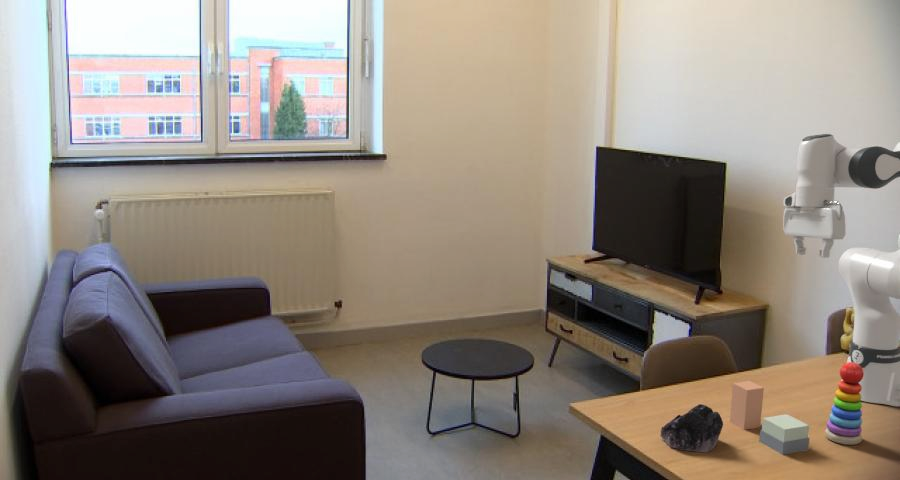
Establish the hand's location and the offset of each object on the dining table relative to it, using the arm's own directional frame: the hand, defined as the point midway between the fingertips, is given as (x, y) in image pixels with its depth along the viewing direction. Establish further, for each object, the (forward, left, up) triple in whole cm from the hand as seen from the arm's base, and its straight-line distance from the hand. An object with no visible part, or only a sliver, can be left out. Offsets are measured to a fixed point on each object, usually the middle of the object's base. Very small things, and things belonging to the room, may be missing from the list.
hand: (812, 255), depth 217 cm
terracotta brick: (+20, +4, -40) cm, 45 cm away
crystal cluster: (+39, +8, -40) cm, 57 cm away
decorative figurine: (-51, -29, -40) cm, 71 cm away
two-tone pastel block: (+20, +17, -40) cm, 48 cm away
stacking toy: (+4, +19, -40) cm, 45 cm away
